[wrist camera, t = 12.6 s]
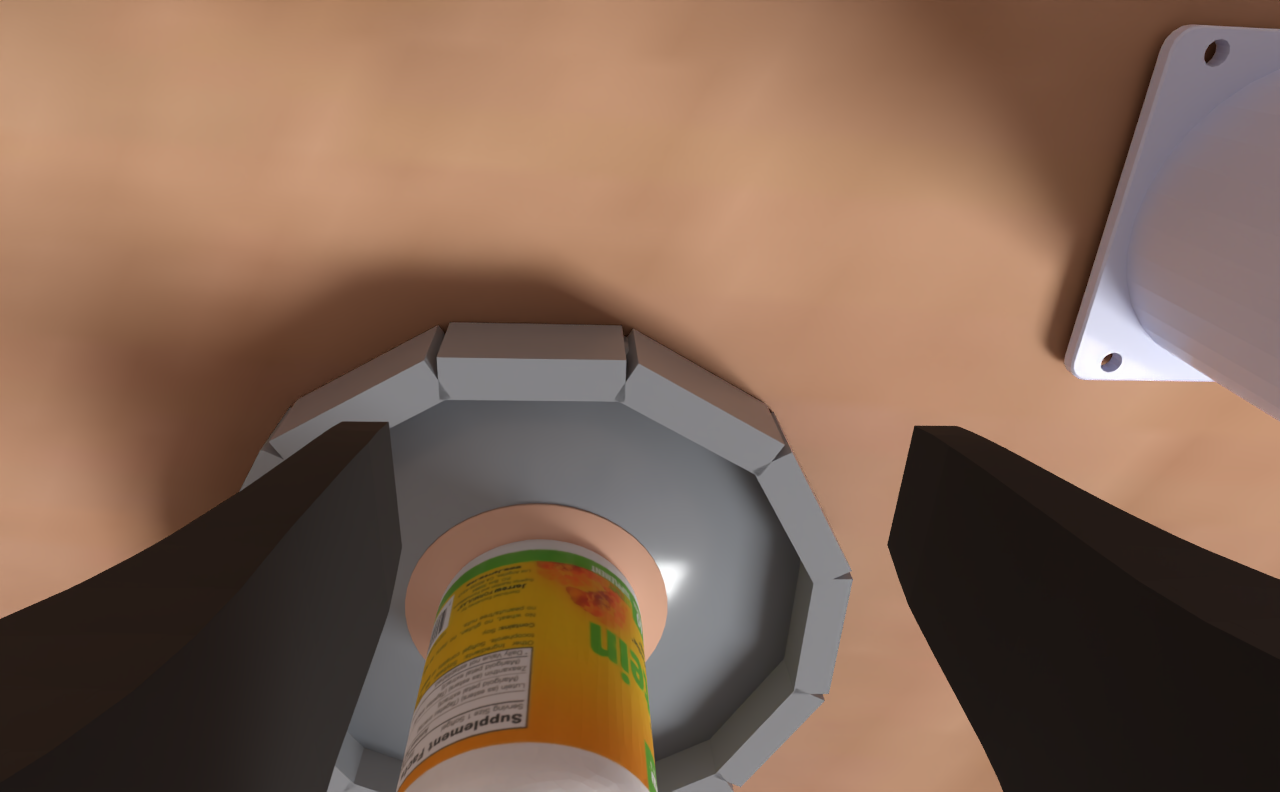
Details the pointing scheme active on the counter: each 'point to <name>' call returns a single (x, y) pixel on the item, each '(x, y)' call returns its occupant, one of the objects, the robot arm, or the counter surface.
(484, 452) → the round tray
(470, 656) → the supplement bottle
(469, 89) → the counter surface
